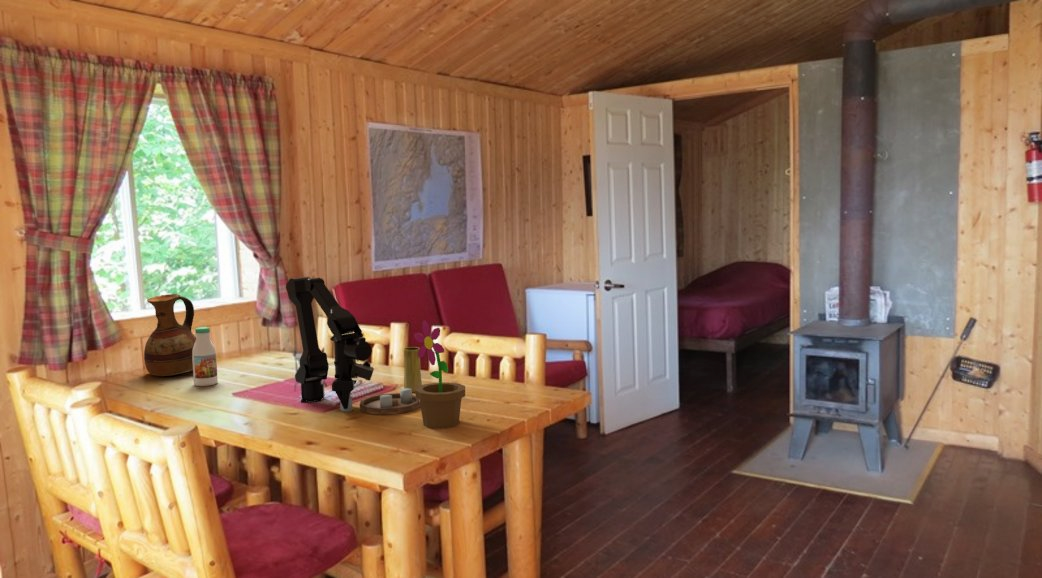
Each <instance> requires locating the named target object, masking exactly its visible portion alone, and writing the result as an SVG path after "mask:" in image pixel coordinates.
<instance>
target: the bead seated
mask: <svg viewBox="0 0 1042 578" xmlns="http://www.w3.org/2000/svg"><path fill="white" fill-rule="evenodd" d="M399 391H400V397H401V403H402V404H409V403H412V395H413V393H412V389H410V388H404V387H403V388H401V389H400V390H399Z"/></svg>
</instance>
